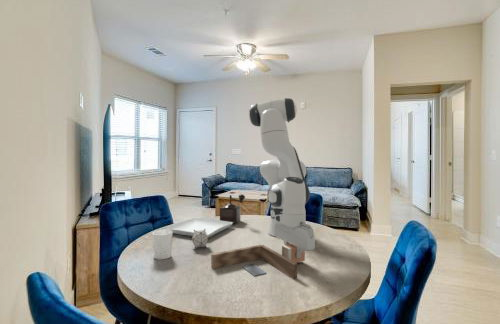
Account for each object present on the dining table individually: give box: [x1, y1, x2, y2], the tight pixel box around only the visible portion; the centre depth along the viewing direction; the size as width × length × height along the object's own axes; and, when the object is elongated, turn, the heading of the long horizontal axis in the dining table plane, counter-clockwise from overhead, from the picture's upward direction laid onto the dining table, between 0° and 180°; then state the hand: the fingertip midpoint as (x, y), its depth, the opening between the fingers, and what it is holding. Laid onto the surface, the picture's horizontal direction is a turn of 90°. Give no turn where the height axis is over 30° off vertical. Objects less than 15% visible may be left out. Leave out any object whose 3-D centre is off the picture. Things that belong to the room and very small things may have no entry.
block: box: [281, 244, 306, 264], centre depth 107 cm, size 8×4×6 cm, turn 121°
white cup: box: [151, 229, 174, 260], centre depth 113 cm, size 8×8×10 cm
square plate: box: [163, 217, 233, 238], centre depth 150 cm, size 27×27×4 cm
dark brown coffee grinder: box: [219, 194, 246, 225], centre depth 168 cm, size 16×11×18 cm
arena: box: [210, 244, 298, 280], centre depth 99 cm, size 22×22×5 cm
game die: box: [189, 229, 211, 250], centre depth 124 cm, size 9×8×10 cm
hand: (293, 254), depth 107 cm, fingers closed on block, 4 cm apart
